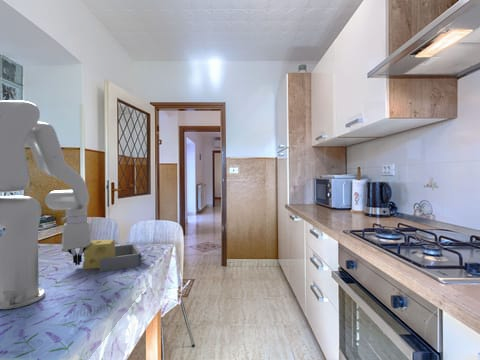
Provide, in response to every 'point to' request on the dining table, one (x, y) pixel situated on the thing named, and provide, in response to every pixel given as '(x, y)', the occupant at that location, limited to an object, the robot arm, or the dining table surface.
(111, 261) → the bin
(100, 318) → the dining table surface
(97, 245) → the cheese
